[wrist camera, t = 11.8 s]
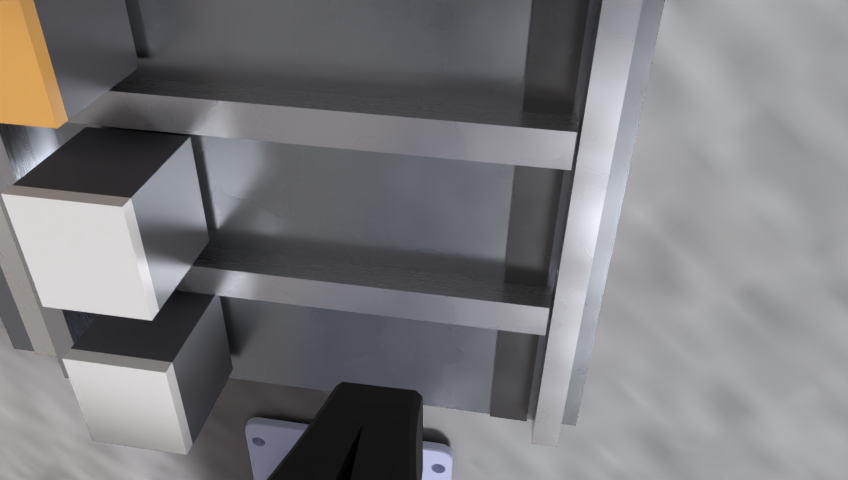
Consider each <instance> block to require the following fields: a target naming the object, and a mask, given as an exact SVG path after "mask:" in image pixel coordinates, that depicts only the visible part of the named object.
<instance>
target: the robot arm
mask: <svg viewBox="0 0 848 480" xmlns="http://www.w3.org/2000/svg"><path fill="white" fill-rule="evenodd" d="M245 434H246V439H247V444H248V450H249V455H250V461H251V466H252V472H253V477H254V480H452V467H453V451H452V449H451V448H450V447H448V446H447V445H445V444H441V443H435V442H428V441H423V396H422V395H420V394H419V393H418V392H417V391H416V390H409V389H400V388H392V387H383V386H375V385H366V384H358V383H350V382H341V383H339V384H338V385H336V387H335V388H334V390H333V391H332V393H331V394H330V396H329V397H328V399H327V400H326V402H325V403H324V405H323V406H322V408H321V409H320V410H319V412H318V413H317V415H316V416H315V418H314V419H313V420H312V422H311V423H310V425H309V424H302V423H295V422H288V421H281V420H274V419H267V418H261V417H254V418H251V419H250V420H249V421H248V423H247V425H246V427H245Z"/></svg>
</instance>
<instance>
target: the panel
mask: <svg viewBox="0 0 848 480" xmlns="http://www.w3.org/2000/svg"><path fill="white" fill-rule="evenodd" d="M664 2H665V0H125V3H126V8H127V13H128V17H129V22H130V27H131V31H132V36H133V40H134V45H135V50H136V54H137V59H138V64H139V68H138V69H136V70H135V71H134V72H132V73H131V74H130V75H128V76H127V77H126V78H124V79H123V80H122V81H120V82H119V83H118V84H116V85H115V86H114V87H112V88H111V89H110V90H108V91H107V92H106V93H104V94H103V95H102V96H100V97H99V98H98V99H96V100H95V101H94V102H92V103H91V104H90V105H88V106H87V107H86V108H84V109H83V110H82V111H80V112H79V113H78V114H76V115H75V116H74V117H72V118H71V119H70V120H68V121H67V122H66V123H64V124H63V125H62V126H60V127H59V128H58V129H57V128H47V127H36V126H26V125H16V124H5V123H0V316H1V318H2V321H3V323H4V325H5V328H6V330H7V332H8V335H9V337H10V340H11V342H12V344H13V347H14V349H21V350H28V351H35V354H42V355H49V356H56V357H58V360H59V363H60V365H61V368H62V371H63V373H64V376H65V378H69V376H68V373H67V370H66V368H65V365H64V362H63V360H62V358H63V357H64V356H65V354H66V353H67V352H68V351H69V350H70V348H71V347H72V346H73V345H74V344H75V342H76V341H77V340H78V339H79V337H80V336H81V335H82V334H83V333H84V331H85V330H86V329H87V328H88V327H89V325H90V324H91V323H92V322H93V320H94V319H95V318H96V317H97V316H98V314H96V313H88V312H81V311H73V310H65V309H57V308H50V307H43V306H42V303H41V300H40V298H39V295H38V292H37V290H36V287H35V284H34V281H33V279H32V276H31V273H30V271H29V268H28V265H27V263H26V260H25V257H24V255H23V252H22V249H21V246H20V244H19V241H18V238H17V236H16V233H15V230H14V228H13V225H12V222H11V219H10V217H9V214H8V211H7V209H6V206H5V203H4V201H3V198H2V195H1V193H3V192H4V191H5V190H6V189H8V188H9V187H10V186H11V185H13V184H14V183H15V182H17V181H18V180H19V179H20V178H22V177H23V176H24V175H25V174H27V173H28V172H29V171H30V170H32V169H33V168H34V167H36V166H37V165H38V164H39V163H41V162H42V161H43V160H44V159H46V158H47V157H48V156H49V155H51V154H52V153H53V152H54V151H56V150H57V149H58V148H60V147H61V146H62V145H63V144H65V143H66V142H67V141H68V140H70V139H71V138H72V137H73V136H75V135H76V134H77V133H79V132H80V131H81V130H82V129H84V128H85V127H94V128H105V129H115V130H126V131H136V132H147V133H157V134H168V135H178V136H189V137H190V138H191V144H192V149H193V155H194V160H195V166H196V171H197V176H198V182H199V187H200V193H201V198H202V203H203V209H204V214H205V220H206V225H207V230H208V236H209V242H208V244H207V245H206V246H205V248H204V249H203V251H202V252H201V253H200V255H199V256H198V258H197V259H196V260H195V262H194V263H193V264H192V266H191V267H190V269H189V270H188V271H187V273H186V274H185V276H184V277H183V278H182V280H181V281H180V283H179V284H178V285H177V287H176V288H175V289H174V290H178V291H186V292H195V293H203V294H211V295H219V296H220V301H221V306H222V312H223V317H224V322H225V328H226V333H227V339H228V344H229V350H230V355H231V360H232V366H233V370H232V372H231V374H230V376H229V378H232V379H240V380H247V381H254V382H261V383H269V384H276V385H283V386H291V387H298V388H305V389H312V390H320V391H327V392H332V391H333V390H334V388H335V387H336V385H338V384H339V383H341V382H350V383H358V384H366V385H375V386H383V387H392V388H400V389H409V390H416V391H417V392H418V393H419V394H420V395H422V396H423V405H429V406H436V407H444V408H451V409H458V410H465V411H473V412H480V413H487V414H490V416H492V417H499V418H507V419H514V420H521V421H527V419H531V420H533V422H532V443H531V444H536V445H544V446H551V447H557V444H558V439H559V434H560V429H561V424H567V425H575V426H576V422H577V417H578V412H579V407H580V403H581V398H582V393H583V388H584V384H585V379H586V374H587V369H588V364H589V360H590V355H591V350H592V345H593V341H594V336H595V331H596V326H597V322H598V317H599V312H600V307H601V302H602V298H603V293H604V288H605V283H606V279H607V274H608V269H609V264H610V259H611V255H612V250H613V245H614V240H615V236H616V231H617V226H618V221H619V217H620V212H621V207H622V202H623V197H624V193H625V188H626V183H627V178H628V174H629V169H630V164H631V159H632V154H633V150H634V145H635V140H636V135H637V131H638V126H639V121H640V116H641V112H642V107H643V102H644V97H645V92H646V88H647V83H648V78H649V73H650V69H651V64H652V59H653V54H654V49H655V45H656V40H657V35H658V30H659V26H660V21H661V16H662V11H663V7H664Z"/></svg>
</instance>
